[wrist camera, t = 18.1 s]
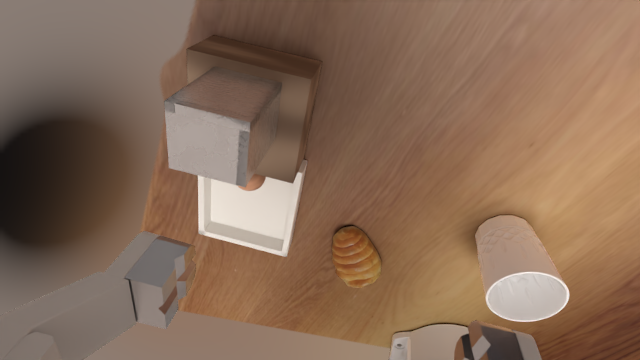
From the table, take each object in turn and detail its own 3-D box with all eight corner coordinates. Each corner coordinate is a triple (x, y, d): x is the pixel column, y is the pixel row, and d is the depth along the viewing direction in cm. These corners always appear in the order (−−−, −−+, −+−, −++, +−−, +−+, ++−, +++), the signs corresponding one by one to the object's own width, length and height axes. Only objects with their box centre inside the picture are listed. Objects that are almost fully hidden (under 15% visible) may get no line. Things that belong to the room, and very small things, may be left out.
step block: (304, 156, 45) (293, 183, 40) (212, 133, 45) (189, 156, 40) (322, 61, 38) (311, 79, 33) (213, 35, 38) (186, 48, 33)
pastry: (323, 226, 51) (318, 245, 48) (369, 219, 49) (367, 238, 46) (342, 272, 55) (339, 292, 52) (385, 268, 53) (385, 288, 50)
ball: (261, 198, 45) (258, 189, 42) (231, 189, 45) (225, 180, 42) (271, 169, 47) (268, 158, 43) (242, 161, 47) (236, 149, 43)
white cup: (550, 238, 45) (585, 304, 37) (493, 265, 49) (512, 330, 41) (514, 199, 43) (542, 260, 35) (457, 231, 47) (470, 292, 39)
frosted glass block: (275, 138, 37) (245, 187, 30) (214, 123, 37) (169, 167, 30) (282, 82, 34) (250, 122, 26) (214, 66, 34) (164, 101, 26)
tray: (291, 242, 53) (286, 257, 51) (207, 220, 54) (198, 233, 51) (307, 160, 45) (302, 173, 42) (208, 135, 45) (197, 146, 43)
